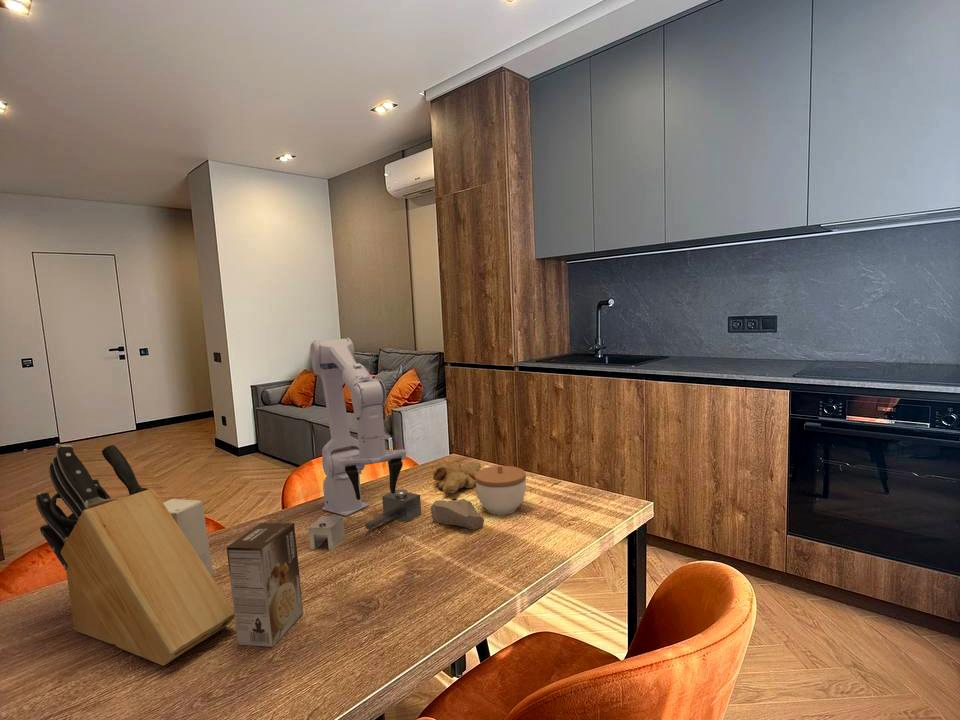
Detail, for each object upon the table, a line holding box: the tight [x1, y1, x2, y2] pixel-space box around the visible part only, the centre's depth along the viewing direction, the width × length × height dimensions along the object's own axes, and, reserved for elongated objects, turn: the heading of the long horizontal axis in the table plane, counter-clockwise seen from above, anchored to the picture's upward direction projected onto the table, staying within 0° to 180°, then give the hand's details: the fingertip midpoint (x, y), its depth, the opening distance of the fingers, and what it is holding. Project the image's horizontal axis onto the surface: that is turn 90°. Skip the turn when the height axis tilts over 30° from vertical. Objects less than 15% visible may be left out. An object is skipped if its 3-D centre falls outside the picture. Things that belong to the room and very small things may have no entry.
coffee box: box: [226, 522, 304, 648], centre depth 82 cm, size 9×6×16 cm
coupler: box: [364, 488, 422, 531], centre depth 123 cm, size 8×14×6 cm, turn 145°
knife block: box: [35, 444, 235, 666], centre depth 84 cm, size 11×35×31 cm, turn 64°
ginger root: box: [432, 462, 482, 494], centre depth 145 cm, size 16×16×8 cm
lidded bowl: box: [474, 464, 527, 516], centre depth 126 cm, size 13×13×11 cm
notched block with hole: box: [308, 515, 346, 551], centre depth 113 cm, size 5×6×5 cm
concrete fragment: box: [430, 498, 485, 531], centre depth 120 cm, size 7×14×6 cm, turn 42°
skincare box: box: [163, 498, 214, 577], centre depth 99 cm, size 8×7×16 cm
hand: (375, 495), depth 114 cm, fingers open, 7 cm apart
